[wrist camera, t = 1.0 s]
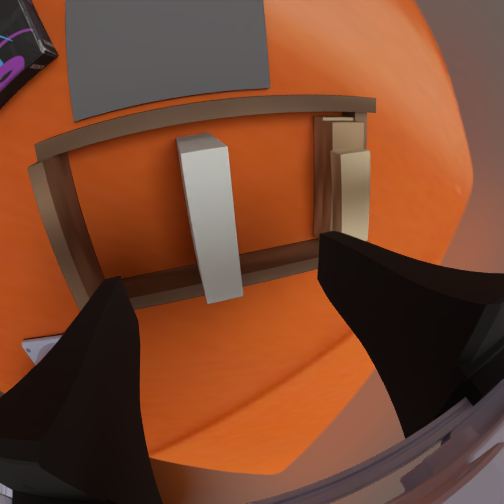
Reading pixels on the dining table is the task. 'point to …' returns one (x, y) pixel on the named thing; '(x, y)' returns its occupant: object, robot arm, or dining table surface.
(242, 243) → the dining table surface
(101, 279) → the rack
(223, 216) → the light grey block
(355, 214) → the offcuts
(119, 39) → the mat
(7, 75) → the box
